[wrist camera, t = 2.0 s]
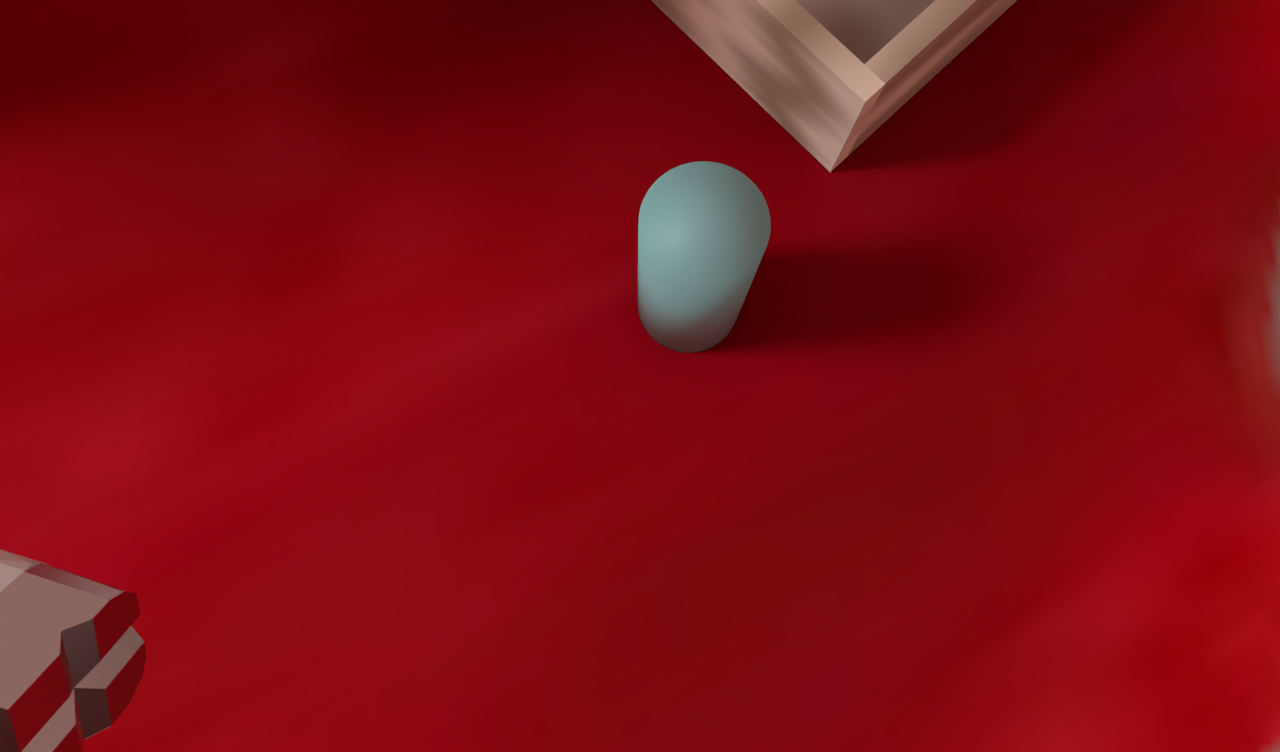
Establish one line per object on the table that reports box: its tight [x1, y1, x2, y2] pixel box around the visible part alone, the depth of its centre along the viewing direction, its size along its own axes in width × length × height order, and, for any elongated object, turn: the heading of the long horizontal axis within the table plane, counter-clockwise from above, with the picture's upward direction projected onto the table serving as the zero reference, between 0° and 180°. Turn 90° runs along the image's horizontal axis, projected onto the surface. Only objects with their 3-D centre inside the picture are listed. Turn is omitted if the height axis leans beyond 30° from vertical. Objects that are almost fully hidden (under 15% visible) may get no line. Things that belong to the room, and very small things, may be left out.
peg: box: [638, 161, 771, 353], centre depth 33 cm, size 4×4×9 cm
